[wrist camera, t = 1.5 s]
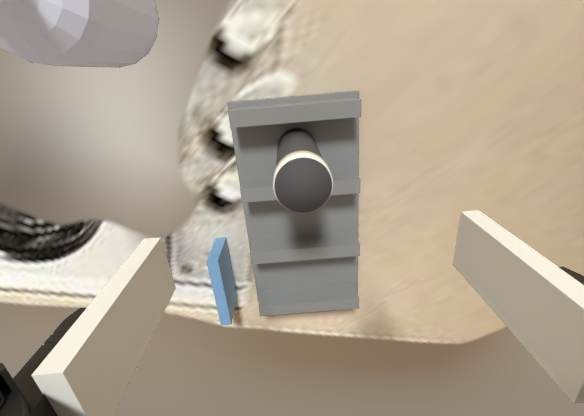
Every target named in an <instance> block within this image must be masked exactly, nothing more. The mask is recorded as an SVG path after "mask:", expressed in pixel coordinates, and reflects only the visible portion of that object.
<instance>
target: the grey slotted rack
mask: <svg viewBox="0 0 584 416" xmlns="http://www.w3.org/2000/svg"><path fill="white" fill-rule="evenodd" d="M227 105H228V114H229V121H230V127H231V130H232V137H233V143H234V149H235V156H236V162H237V168H238V175H239V181H240V187H241V188H240V190H241V197H242V203H243V207H244V213H245V219H246V226H247V232H248V238H249V245H250V251H251V252H250V254H251V260H252V264H253V270H254V277H255V283H256V289H257V296H258V302H259V311H260V316H268V315H280V314H293V313H306V312H319V311H331V310H344V309H357V308H359V297H358V256H360V244H359V241H358V198H359V193H360V178H359V117H361V99H359V91H347V92H335V93H324V94H312V95H301V96H289V97H278V98H266V99H255V100H243V101H232V102H227ZM293 128H301V129H304V130H306V131H308V132H309V133H310V134H311V135H312V136H313V138H314V140H315V142H316V144H317V146H318V149H319V151H320V153H321V155H322V158H323V160H324V161H325V162H326V164H327V166H328V168H329V170H330V172H331V175H332V178H333V190H332V193H331V196H330V198H329V199H328V201H327V202H326V203H325V204H324V205H323V206H322V207H320V208H319V209H317V210H315V211H312V212H307V213H297V212H293V211H290V210H288V209H286V208H285V207H284V206H282V205H281V204H280V203H279V201H278V200H277V198H276V196H275V194H274V190H273V180H274V172H275V169H276V161H277V149H278V142H279V139H280V137H281V136H282V135H283V134H284V133H285V132H286V131H287V130H290V129H293Z"/></svg>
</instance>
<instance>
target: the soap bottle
mask: <svg viewBox="0 0 584 416" xmlns="http://www.w3.org/2000/svg"><path fill="white" fill-rule="evenodd" d="M158 20H159V19H158V13H157V8H156V2H155V0H0V48H2V49H4V50H5V51H7V52H9V53H11V54H13V55H16V56H18V57H20V58H22V59H24V60H26V61H28V62H30V63H37V64H44V65H52V66H81V67H82V66H83V67H123V66H127V65H131V64H135V63H137V62H138V61H139V60H141V59H142V58H143V57H144V56H146V55H147V54H148V53H149V51H150V49H151V47H152V45H153V43H154V42H155V40H156V37H157V28H158Z"/></svg>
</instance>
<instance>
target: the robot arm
mask: <svg viewBox="0 0 584 416" xmlns="http://www.w3.org/2000/svg"><path fill="white" fill-rule="evenodd" d="M453 266H454V267H455V268H456V269H457V270H458V271H459V272H460V274H461V275H462V276H463V277H464V278H465V279H466V280H467V282H468V283H469V284H470V285H471V286H472V287H473V288H474V290H475V291H476V292H477V293H478V294H479V295H480V296H481V298H482V299H483V300H484V301H485V302H486V303H487V304H488V306H489V307H490V308H491V309H492V310H493V311H494V312H495V314H496V315H497V316H498V317H499V318H500V319H501V320H502V322H503V323H504V324H505V325H506V326H507V327H508V328H509V329H510V331H511V332H512V333H513V334H514V335H515V336H516V337H517V339H518V340H519V341H520V342H521V343H522V344H523V345H524V347H525V348H526V349H527V350H528V351H529V352H530V353H531V355H532V356H533V357H534V358H535V359H536V360H537V361H538V363H539V364H540V365H541V366H542V367H543V368H544V369H545V371H546V372H547V373H548V374H549V375H550V376H551V377H552V379H553V380H554V381H555V382H556V383H557V384H558V385H559V387H560V388H561V389H562V390H563V391H564V392H565V393H566V395H567V396H568V397H569V398H570V399H571V400H572V401H573V402H574V403H583V402H584V276H582V275H580V274H578V273H576V272H574V271H571V270H569V269H567V268H565V267H558V266H556V265H555V264H553V263H552V262H551V261H549V260H548V259H546V258H545V257H544V256H542V255H541V254H539V253H538V252H536V251H535V250H534V249H532V248H531V247H529V246H528V245H527V244H525V243H524V242H522V241H521V240H520V239H518V238H517V237H515V236H514V235H513V234H511V233H510V232H508V231H507V230H506V229H504V228H503V227H501V226H500V225H499V224H497V223H496V222H494V221H493V220H492V219H490V218H489V217H487V216H486V215H485V214H483V213H482V212H480V211H479V210H476V211H465V212H461V215H460V222H459V228H458V234H457V241H456V247H455V254H454V260H453ZM174 290H175V284H174V281H173V277H172V274H171V270H170V267H169V263H168V260H167V257H166V253H165V250H164V246H163V243H162V239H161V237H159V238H148V239H143V240H142V241H141V243H140V244H139V245H138V246H137V247H136V249H135V250H134V251H133V252H132V253H131V255H130V256H129V257H128V258H127V260H126V261H125V262H124V263H123V264H122V266H121V267H120V268H119V269H118V270H117V272H116V273H115V274H114V275H113V277H112V278H111V279H110V280H109V281H108V283H107V284H106V285H105V286H104V288H103V289H102V290H101V291H100V292H99V294H98V295H97V296H96V297H95V298H94V300H93V301H92V302H91V303H90V305H89V306H88V307H87V308H80V309H78V310H77V311H75V312H74V313H73V314H71V315H70V316H69V317H67V318H66V319H65V320H64V321H63V322H62V323H61V324H60V325H59V327H58V328H57V329H56V330H55V331H54V334H53V335H51V336H50V337H49V338H48V339H47V340H46V342H45V343H44V345H43V346H41V347H40V348H39V350H38V351H37V352H36V353H35V354H34V355H33V356H32V358H31V359H30V360H29V361H28V362H27V363H26V364H25V366H24V367H23V368H22V369H21V370H20V371H19V372H18V374H17V375H16V376H15V377H14V378H12V377H11V376H10V374H9V372H8V371H7V369H6V368H5V366H4V365H3V364H2V363H0V416H113V415H114V413H115V411H116V409H117V407H118V405H119V403H120V401H121V399H122V397H123V395H124V392H125V390H126V388H127V386H128V384H129V382H130V380H131V378H132V376H133V374H134V372H135V370H136V368H137V366H138V364H139V362H140V360H141V358H142V356H143V353H144V351H145V350H146V347H147V346H148V343H149V342H150V339H151V337H152V335H153V333H154V331H155V329H156V327H157V325H158V323H159V321H160V319H161V317H162V315H163V313H164V311H165V309H166V307H167V305H168V303H169V301H170V299H171V297H172V295H173V293H174Z"/></svg>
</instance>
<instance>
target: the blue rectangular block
mask: <svg viewBox="0 0 584 416" xmlns="http://www.w3.org/2000/svg"><path fill="white" fill-rule="evenodd" d="M207 265H208V270H209V274H210V278H211V283H212V287H213V292H214V296H215V300H216V305H217V309H218V313H219V318H220V322H221V325H230V324H231V323H232V318H233V314H234V309H235V304H236V299H237V293H236V288H235V283H234V278H233V272H232V267H231V262H230V257H229V251H228V246H227V241H226V238H216V240H215V242H214V245H213V247H212V250H211V252H210V254H209V257H208V259H207Z"/></svg>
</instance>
